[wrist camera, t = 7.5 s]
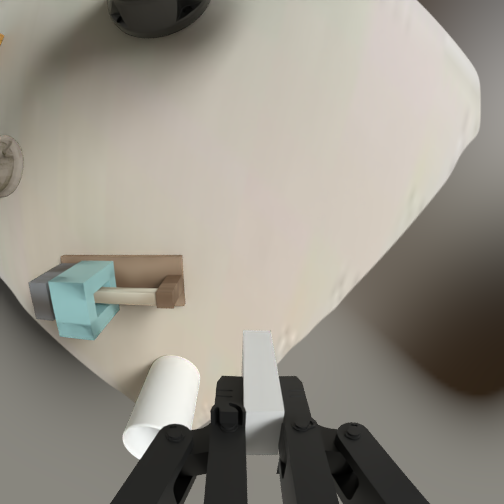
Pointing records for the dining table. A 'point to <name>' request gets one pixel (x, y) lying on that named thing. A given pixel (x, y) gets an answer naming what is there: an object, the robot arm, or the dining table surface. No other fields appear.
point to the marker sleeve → (82, 299)
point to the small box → (1, 38)
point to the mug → (10, 165)
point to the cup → (162, 402)
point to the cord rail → (121, 282)
